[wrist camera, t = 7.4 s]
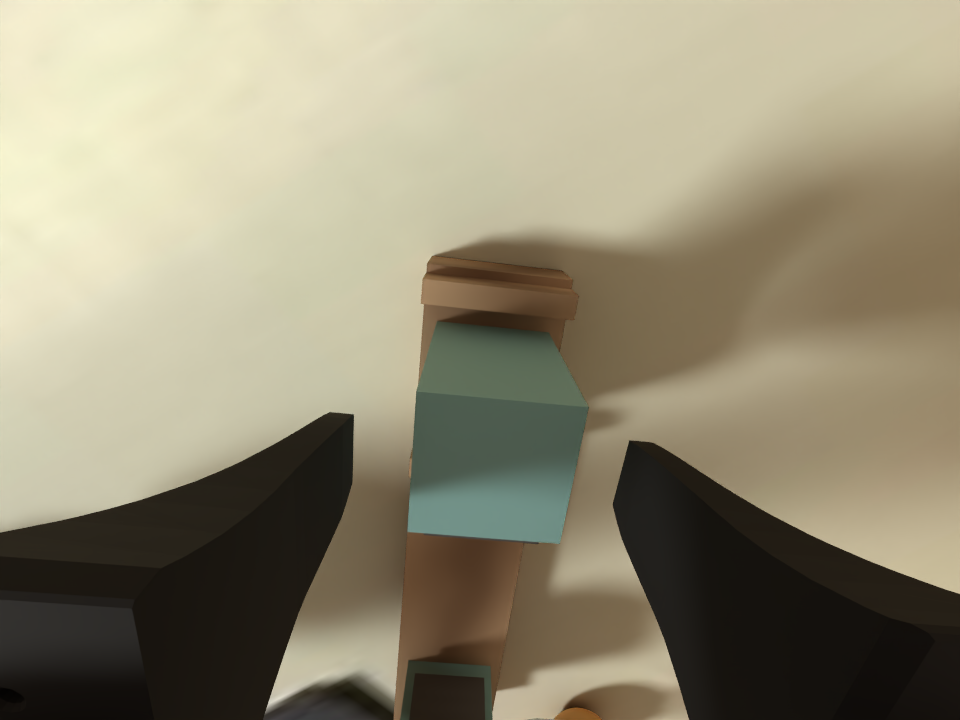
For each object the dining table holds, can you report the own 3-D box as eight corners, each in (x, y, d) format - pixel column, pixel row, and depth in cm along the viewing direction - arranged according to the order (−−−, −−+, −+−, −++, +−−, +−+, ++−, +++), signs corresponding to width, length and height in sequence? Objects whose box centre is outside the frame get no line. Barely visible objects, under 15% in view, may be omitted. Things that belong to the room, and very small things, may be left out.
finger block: (428, 435, 17) (406, 550, 12) (436, 321, 16) (416, 391, 10) (530, 444, 18) (556, 561, 12) (548, 332, 16) (588, 407, 10)
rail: (399, 687, 25) (367, 895, 18) (432, 255, 17) (399, 304, 10) (487, 693, 26) (492, 901, 18) (562, 270, 17) (629, 330, 10)
